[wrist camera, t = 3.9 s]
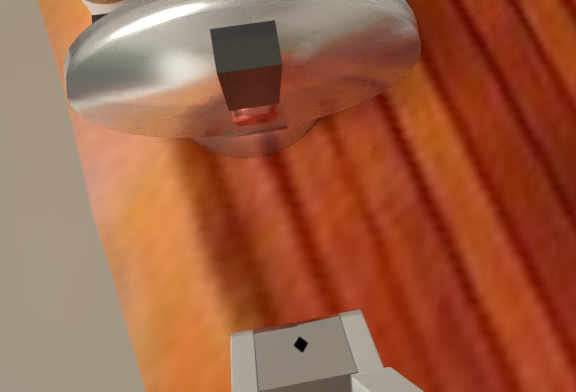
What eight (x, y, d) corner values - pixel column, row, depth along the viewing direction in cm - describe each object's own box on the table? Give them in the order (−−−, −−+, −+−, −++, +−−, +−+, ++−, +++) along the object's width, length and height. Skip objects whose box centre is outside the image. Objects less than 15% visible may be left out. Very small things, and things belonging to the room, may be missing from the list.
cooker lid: (488, -63, 13) (505, 18, 12) (367, 100, 28) (374, 137, 28) (-39, 6, 12) (-29, 94, 12) (136, 135, 27) (141, 174, 27)
